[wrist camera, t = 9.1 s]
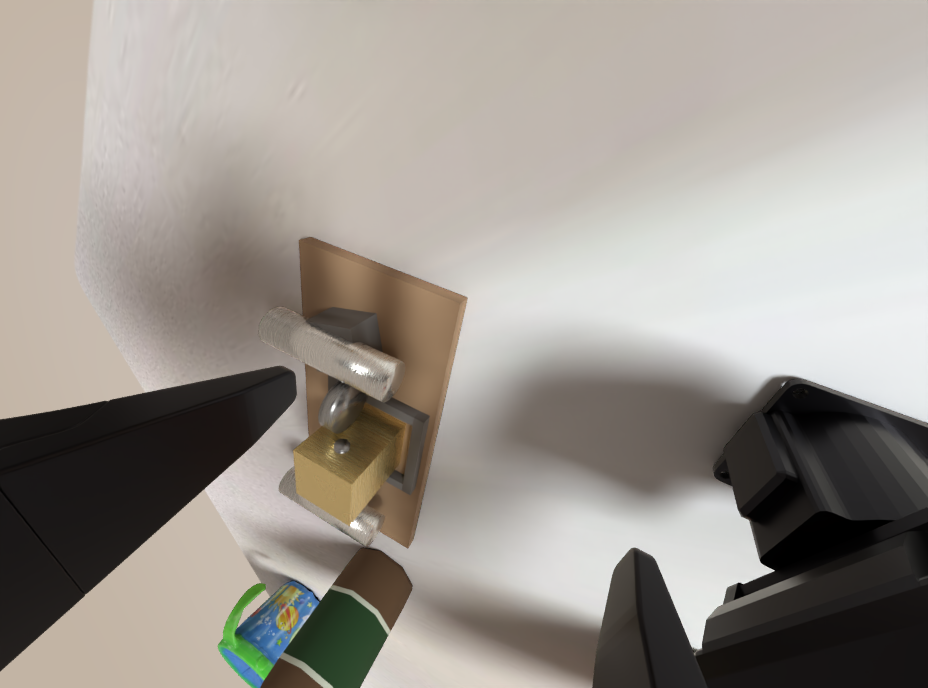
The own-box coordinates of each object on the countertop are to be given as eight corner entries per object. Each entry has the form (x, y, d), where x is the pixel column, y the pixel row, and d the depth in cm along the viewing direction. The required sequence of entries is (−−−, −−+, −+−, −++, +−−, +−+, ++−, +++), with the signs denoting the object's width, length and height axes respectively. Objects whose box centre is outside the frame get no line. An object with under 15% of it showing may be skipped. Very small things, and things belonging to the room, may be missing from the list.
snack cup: (261, 552, 55) (193, 623, 47) (309, 568, 50) (241, 651, 41) (305, 619, 60) (250, 693, 52) (351, 640, 55) (298, 725, 47)
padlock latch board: (467, 297, 21) (439, 320, 18) (413, 539, 35) (392, 573, 32) (310, 237, 24) (265, 248, 21) (318, 482, 38) (291, 509, 35)
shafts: (411, 349, 22) (375, 380, 19) (386, 521, 32) (360, 558, 29) (296, 298, 24) (248, 318, 22) (306, 473, 34) (275, 503, 32)
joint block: (399, 465, 29) (349, 528, 24) (353, 440, 30) (296, 495, 25) (406, 420, 26) (352, 481, 22) (355, 394, 28) (292, 446, 23)
